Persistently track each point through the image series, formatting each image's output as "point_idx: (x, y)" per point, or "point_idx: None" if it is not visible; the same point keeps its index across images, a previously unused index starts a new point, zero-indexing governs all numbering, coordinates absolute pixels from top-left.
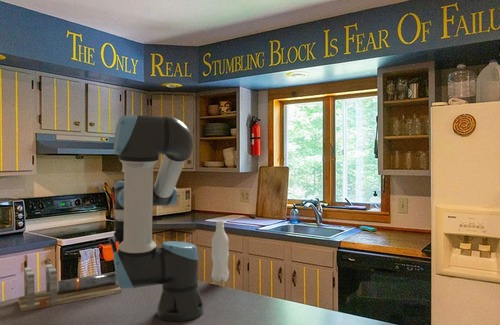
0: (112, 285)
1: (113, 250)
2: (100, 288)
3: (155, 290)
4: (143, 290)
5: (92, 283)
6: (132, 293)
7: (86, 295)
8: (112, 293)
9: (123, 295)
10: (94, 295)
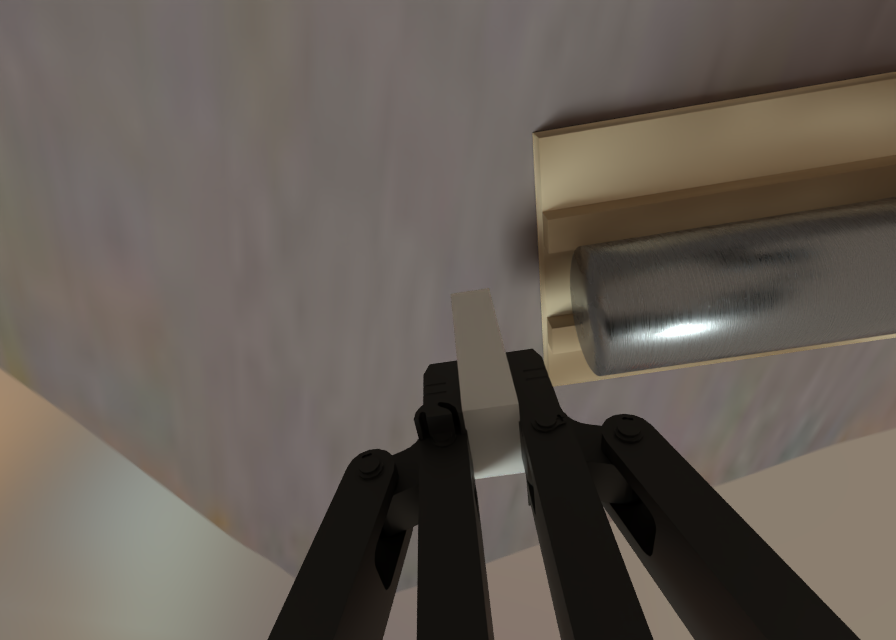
0: (610, 226)
1: (816, 628)
2: (734, 188)
3: (185, 23)
4: (319, 91)
5: (848, 215)
6: (439, 38)
7: (891, 86)
8: (621, 118)
9: (537, 12)
10: (806, 89)
